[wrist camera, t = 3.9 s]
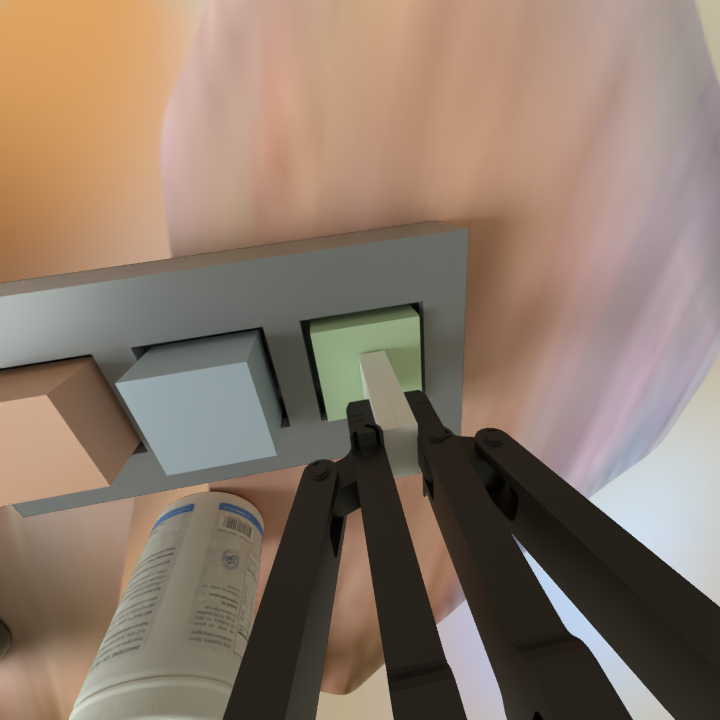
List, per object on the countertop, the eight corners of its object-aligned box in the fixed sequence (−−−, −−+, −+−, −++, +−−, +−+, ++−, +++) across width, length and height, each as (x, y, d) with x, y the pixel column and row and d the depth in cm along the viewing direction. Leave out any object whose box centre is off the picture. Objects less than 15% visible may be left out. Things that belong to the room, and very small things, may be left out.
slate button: (190, 428, 21) (167, 475, 18) (152, 346, 18) (114, 383, 15) (282, 412, 22) (277, 455, 18) (258, 329, 19) (246, 361, 15)
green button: (325, 387, 24) (328, 421, 20) (310, 309, 21) (310, 333, 17) (405, 373, 24) (422, 404, 21) (401, 295, 21) (419, 315, 18)
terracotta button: (47, 453, 21) (-8, 507, 17) (-16, 373, 18) (-97, 418, 14) (143, 436, 21) (110, 486, 18) (97, 355, 18) (46, 394, 15)
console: (72, 461, 26) (23, 517, 21) (-55, 290, 19) (-163, 320, 15) (436, 396, 28) (460, 435, 23) (435, 220, 21) (468, 228, 17)
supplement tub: (170, 556, 33) (78, 797, 20) (148, 489, 28) (13, 741, 15) (269, 548, 34) (245, 766, 21) (264, 483, 30) (228, 708, 17)
